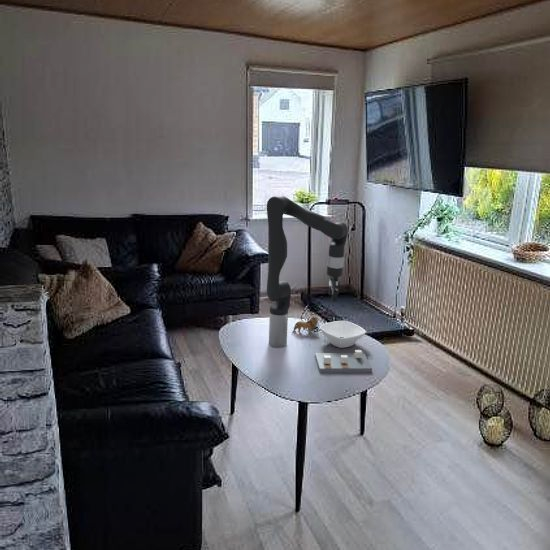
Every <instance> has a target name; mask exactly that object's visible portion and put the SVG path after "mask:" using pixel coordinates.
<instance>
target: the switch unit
mask: <svg viewBox="0 0 550 550" xmlns="http://www.w3.org/2000/svg"><path fill="white" fill-rule="evenodd" d="M324 355H330V356H331V364H324V362H323V359H324ZM341 355H347V356H348V363H341V362H340V357H341ZM314 358H316V359H315V361H316V365H317V368H318V371H319V373H372V372H373V367H372V365H371V364H370V362H369V360H368V358H367V356H366V355H365V352H362V358H355V352H336V353H335V352H315V353H314Z"/></svg>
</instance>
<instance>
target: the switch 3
mask: <svg viewBox="0 0 550 550" xmlns="http://www.w3.org/2000/svg"><path fill="white" fill-rule="evenodd" d="M354 353H355V358H362V353H363V351H362V350H361V349H355V350H354Z"/></svg>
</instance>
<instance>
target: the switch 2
mask: <svg viewBox="0 0 550 550" xmlns="http://www.w3.org/2000/svg"><path fill="white" fill-rule="evenodd" d="M340 362H341V363H348V356H347V355H341V357H340Z"/></svg>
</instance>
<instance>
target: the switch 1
mask: <svg viewBox="0 0 550 550" xmlns="http://www.w3.org/2000/svg"><path fill="white" fill-rule="evenodd" d="M323 362H324V364H331V356H330V355H324V359H323Z"/></svg>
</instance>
